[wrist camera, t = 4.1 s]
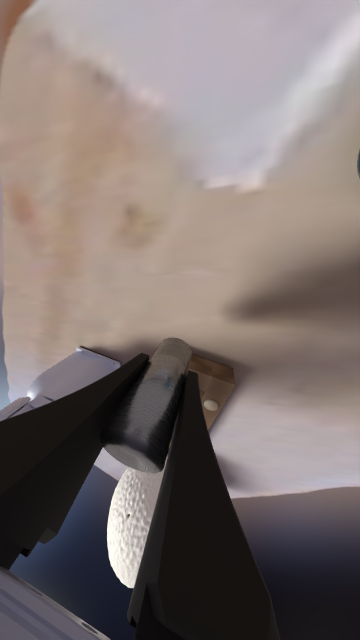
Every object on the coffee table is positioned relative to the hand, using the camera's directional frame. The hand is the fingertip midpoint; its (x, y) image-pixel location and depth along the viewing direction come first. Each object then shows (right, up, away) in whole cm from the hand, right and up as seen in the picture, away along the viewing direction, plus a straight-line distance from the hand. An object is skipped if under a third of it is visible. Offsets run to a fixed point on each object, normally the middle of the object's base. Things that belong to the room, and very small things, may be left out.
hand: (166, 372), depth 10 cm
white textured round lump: (-3, -33, +25) cm, 41 cm away
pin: (+1, +1, +2) cm, 2 cm away
